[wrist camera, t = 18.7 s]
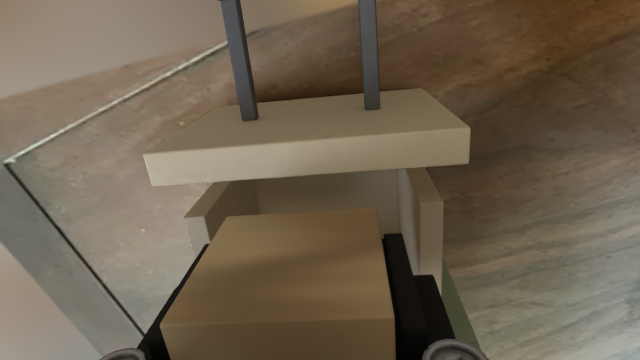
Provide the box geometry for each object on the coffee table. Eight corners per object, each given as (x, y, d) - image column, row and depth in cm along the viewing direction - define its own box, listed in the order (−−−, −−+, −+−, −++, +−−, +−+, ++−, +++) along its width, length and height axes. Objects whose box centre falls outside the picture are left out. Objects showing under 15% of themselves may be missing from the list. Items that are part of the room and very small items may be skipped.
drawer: (191, -22, 17) (80, -57, 10) (422, -52, 16) (483, -114, 9) (259, 313, 24) (223, 433, 17) (422, 307, 23) (456, 432, 16)
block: (376, 206, 11) (394, 316, 7) (382, 326, 13) (400, 474, 8) (226, 216, 11) (158, 324, 7) (251, 331, 13) (207, 473, 9)
